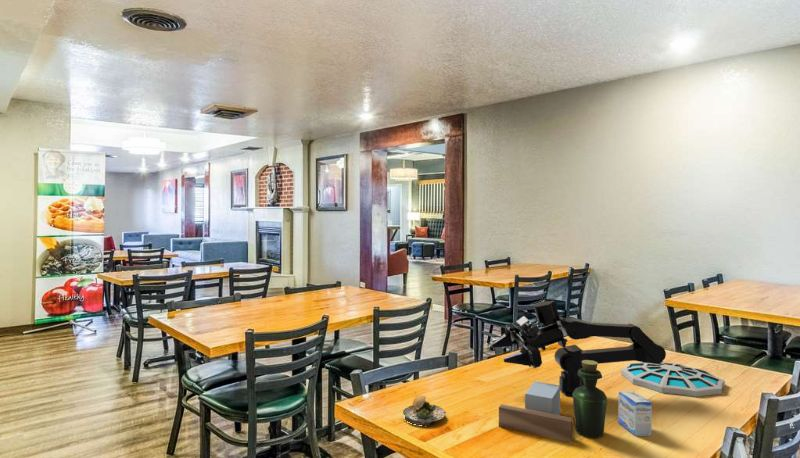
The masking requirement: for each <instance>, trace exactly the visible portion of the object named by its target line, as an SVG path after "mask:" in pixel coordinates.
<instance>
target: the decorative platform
mask: <svg viewBox="0 0 800 458" xmlns="http://www.w3.org/2000/svg"><path fill="white" fill-rule="evenodd" d="M620 375H621V376H623V377H624V378H626V379H627V380H628V381H629V382H630V383H631V384H632V385H636V386H639V387H643V388H647V389H649V390H652V391H655V392H658V393H662V394H669V395H671V394H672V395H679V396H685V397H686V396H687V397H694V398H699V397H700V398H701V397H706V396H716V395H722V394H723V389H722V388H725V386H726V381H725V380H724V379H722V378H720V377H717V376H715V375H714V374H712V373H710V372H709V371H707V370H704V369H700V368H696V367H691V366H686V365H683V364H680V363H675V362H674V363H672V362H664V361H663V362H662V363H659V364H654V363H645V362H629V363H627V365H626V366H624V367H623V368H622V369H620Z"/></svg>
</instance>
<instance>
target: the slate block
mask: <svg viewBox="0 0 800 458" xmlns="http://www.w3.org/2000/svg"><path fill="white" fill-rule="evenodd" d="M524 409H529V410H534V411H539V412H544V413H550V414H555V415H560V414H561V390H560V385H559V384H553V383H546V382H541V381H536V380H535V381H534V382H533V383H532V384H531V385H530V386H529V388H528V389H527V390H526V392H525V393H524Z"/></svg>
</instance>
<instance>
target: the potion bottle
mask: <svg viewBox="0 0 800 458" xmlns="http://www.w3.org/2000/svg"><path fill="white" fill-rule="evenodd" d="M582 366H583V368H581V369H579V371H578V373H577V374H578V376H580V377H582V381H583V386H580V387H578V388H576V389H575V390H574V392H573V396H572V401H573V413H574V423H575V424H574V425H575V430H576V432H577V433H578V434H579V435H580V436H582V437H584V438H585V437H586V438H591V439H598V438H601V437H603V435H604V434H605V433H604V431H605V425H606V424H605V423H606V412H607V404H608V403H607V402H608V397H607V395H606V393H605V392H604V391H603V390H602V389H600V388H598V387H597V383H598V380H600V379H603V374H602V372H601V371H600V370H598V363H597V362H596V361H592V360H583V361H582Z"/></svg>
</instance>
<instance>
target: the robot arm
mask: <svg viewBox="0 0 800 458" xmlns="http://www.w3.org/2000/svg"><path fill="white" fill-rule="evenodd" d="M533 310H534V312H535V316H536V319H537V322H538V323H539V324H542V326H543V327H539V326H538V325H537V324H536V323H532V322H531V321H530V319H528V318H527V317H526V316H525V315H523V316H521V317H519V318H518V319H517V320H516V321H515V324H514V323H512V322H509V323H507V324H505V327H504V333H503V334H502V335H501V336H500V337H499V338H497V339H496V340H495V341H494V342H492V344H491V347H492V348H505V347H513V346H514V345H515V346H516V345H519V346H520V347H521V349H520V350H519V351H518V352H517V351H516V352H515V353H513V354H511V355H508V356H506V357H504V358H503V363H505V364H506V363H507V364H515V365H522V366H527V367H529V368H531V367H532V368H533V369H537V368H540V367H541V366H542V365H543V359H542V354H541V351H546V349H547V348H546V347H549V346H551V345H555V344H557V345H558V346H560V347H559V348H557V350H556V351H555V352H554V361H555V362H556V364H558V366H560V369H561V370H562V371H560V376H559V379H558V380H559V381H558V382H559V383H558V385H560V392H562V394H564V395H565V396H566V397H573V392H574V390H575V389H576V388H578V387H580V386H583V381H582V377H580V376H578V374H577V373H578V371H579V369H581V368H583V366H582V361H583V360H592V361H596V362H597V363H598V364H610V363H611V364H612V363H621V362H631V361H632V362H633V361H635V362H638V363H642V362H645V363H654V364H659V363H662V362H663V363H664V360H665V359H666V355H667V353H666V350H665V348H664V347H663V346H662V345H660V344H658V343H656V342H655V341H654V340H652V339H651V338H650V337H649V336H648V335H647V334H646V333H645V332H644V331H643V330H642V329H641V327H639V326H637V325H635V324H633V323H626V324H625V323H624V324H623V323H608V322H607V323H605V322H591V321H587V320H583V319H579V318H575V317H566V318H564V317H562V316H560V314H559V310H558V308H557V303H556V301H555V300H550V301H549V300H547V301H539V302H537V303H535V304H533ZM516 324H517V325H518V326H519V328H518V327H517V325H516ZM559 326H560V327H559ZM519 329H520V330H519ZM565 335H566V336H568V338H570V339H572V340H583V339H590V338H593V337H600V338H601V337H604V338H605V337H606V338H623V339H624V338H625V339H630V341H631V342H632V343H631V344H630V345H627V346H618V347H616V346H615V347H608V348H606V347H605V348H595V349H585V350H584V349H581V347H579V346H578V345H577V344H572V345H571V344H570V345H567V342H568V340H569V339H568V338H565V337H564V336H565ZM540 349H541V350H540Z"/></svg>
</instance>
